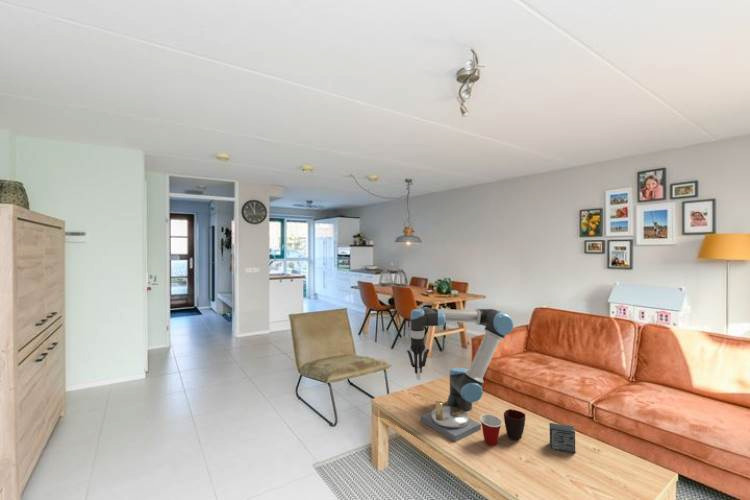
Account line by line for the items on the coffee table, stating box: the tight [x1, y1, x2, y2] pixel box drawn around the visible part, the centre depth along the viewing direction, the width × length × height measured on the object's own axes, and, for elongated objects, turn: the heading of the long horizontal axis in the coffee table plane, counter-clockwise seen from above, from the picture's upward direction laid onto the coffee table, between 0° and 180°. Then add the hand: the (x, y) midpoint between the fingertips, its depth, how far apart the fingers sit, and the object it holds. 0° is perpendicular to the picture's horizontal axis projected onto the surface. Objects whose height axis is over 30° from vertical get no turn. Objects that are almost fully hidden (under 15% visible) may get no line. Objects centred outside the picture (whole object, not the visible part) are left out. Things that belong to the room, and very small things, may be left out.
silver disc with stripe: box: [431, 400, 470, 429], centre depth 193 cm, size 20×20×11 cm
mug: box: [503, 408, 526, 442], centre depth 182 cm, size 10×14×12 cm
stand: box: [419, 410, 482, 443], centre depth 193 cm, size 26×20×3 cm
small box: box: [549, 422, 576, 454], centre depth 171 cm, size 11×6×10 cm, turn 71°
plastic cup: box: [479, 413, 503, 447], centre depth 176 cm, size 11×11×12 cm
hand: (418, 378), depth 197 cm, fingers closed
